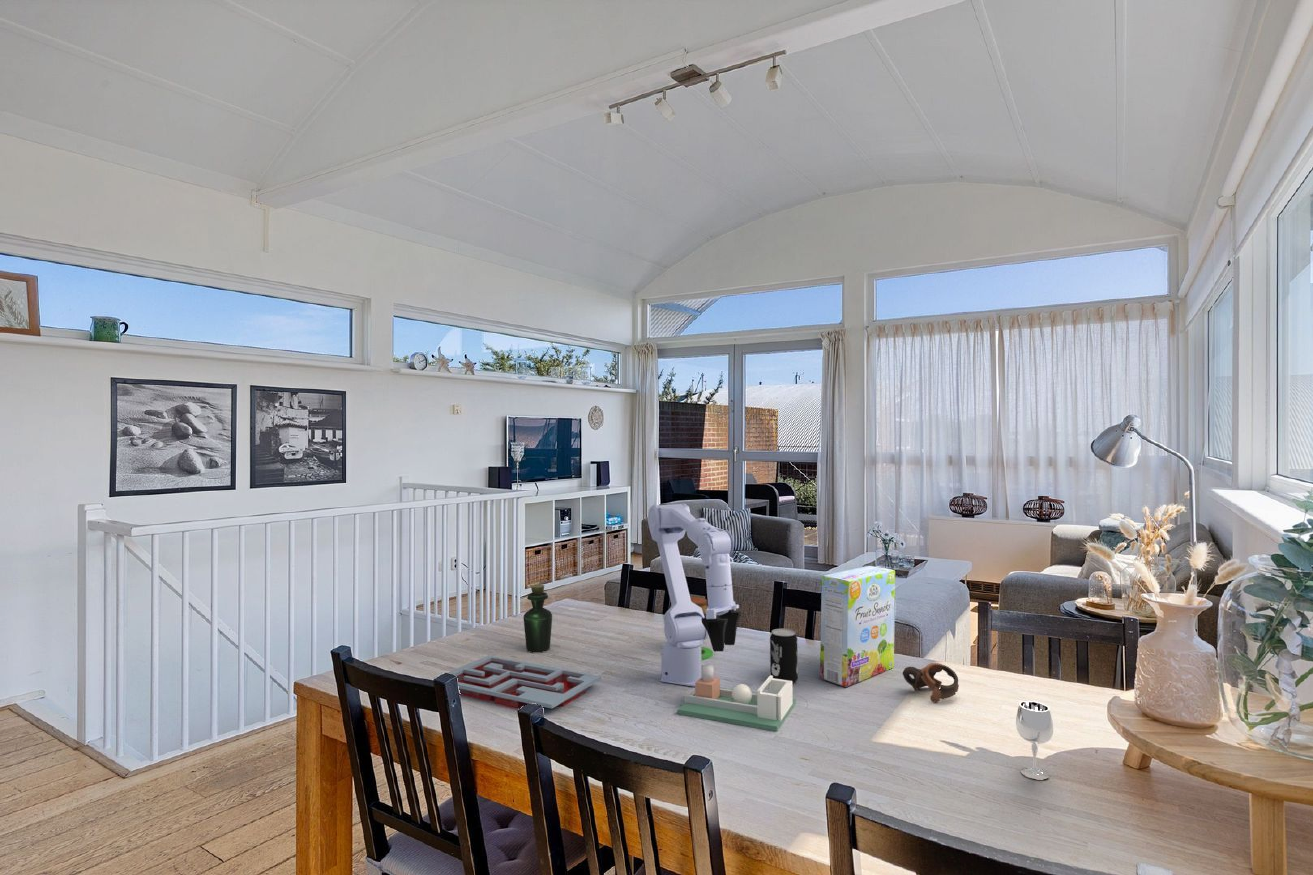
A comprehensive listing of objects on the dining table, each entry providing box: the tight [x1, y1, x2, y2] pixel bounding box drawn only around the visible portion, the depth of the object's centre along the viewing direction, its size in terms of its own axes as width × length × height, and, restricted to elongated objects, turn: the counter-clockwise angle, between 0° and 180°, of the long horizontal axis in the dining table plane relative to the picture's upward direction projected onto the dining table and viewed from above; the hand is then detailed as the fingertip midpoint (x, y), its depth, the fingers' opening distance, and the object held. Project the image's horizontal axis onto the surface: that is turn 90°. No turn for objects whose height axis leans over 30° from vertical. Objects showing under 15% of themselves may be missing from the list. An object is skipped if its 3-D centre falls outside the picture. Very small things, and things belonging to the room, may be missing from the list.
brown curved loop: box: [902, 662, 960, 703], centre depth 158 cm, size 12×10×8 cm
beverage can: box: [769, 628, 799, 685], centre depth 169 cm, size 7×7×12 cm
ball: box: [732, 683, 753, 704], centre depth 151 cm, size 4×4×4 cm
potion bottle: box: [523, 584, 553, 653], centre depth 195 cm, size 8×8×18 cm
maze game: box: [433, 655, 602, 709], centre depth 165 cm, size 35×20×3 cm, turn 62°
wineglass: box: [1015, 700, 1054, 775], centre depth 121 cm, size 6×6×12 cm
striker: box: [694, 664, 721, 699], centre depth 155 cm, size 4×5×7 cm
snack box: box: [819, 565, 896, 688], centre depth 173 cm, size 22×9×26 cm, turn 131°
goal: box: [756, 674, 794, 721], centre depth 148 cm, size 5×10×6 cm, turn 155°
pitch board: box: [677, 686, 797, 732], centre depth 152 cm, size 22×16×2 cm
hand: (724, 647), depth 152 cm, fingers open, 7 cm apart
